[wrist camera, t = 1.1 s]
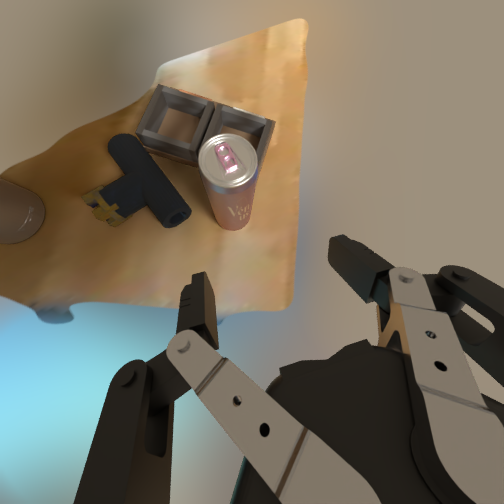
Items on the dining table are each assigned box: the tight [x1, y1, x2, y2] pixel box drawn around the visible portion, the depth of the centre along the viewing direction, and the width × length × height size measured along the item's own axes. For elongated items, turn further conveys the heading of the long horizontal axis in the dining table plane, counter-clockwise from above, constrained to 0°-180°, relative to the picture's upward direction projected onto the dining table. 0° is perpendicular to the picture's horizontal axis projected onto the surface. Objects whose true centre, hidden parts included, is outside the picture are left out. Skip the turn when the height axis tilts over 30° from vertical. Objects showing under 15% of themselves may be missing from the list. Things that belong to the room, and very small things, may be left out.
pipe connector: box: [82, 134, 192, 228], centre depth 29 cm, size 12×5×15 cm
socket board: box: [135, 84, 276, 183], centre depth 32 cm, size 20×13×4 cm, turn 73°
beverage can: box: [198, 133, 258, 231], centre depth 25 cm, size 6×6×15 cm
